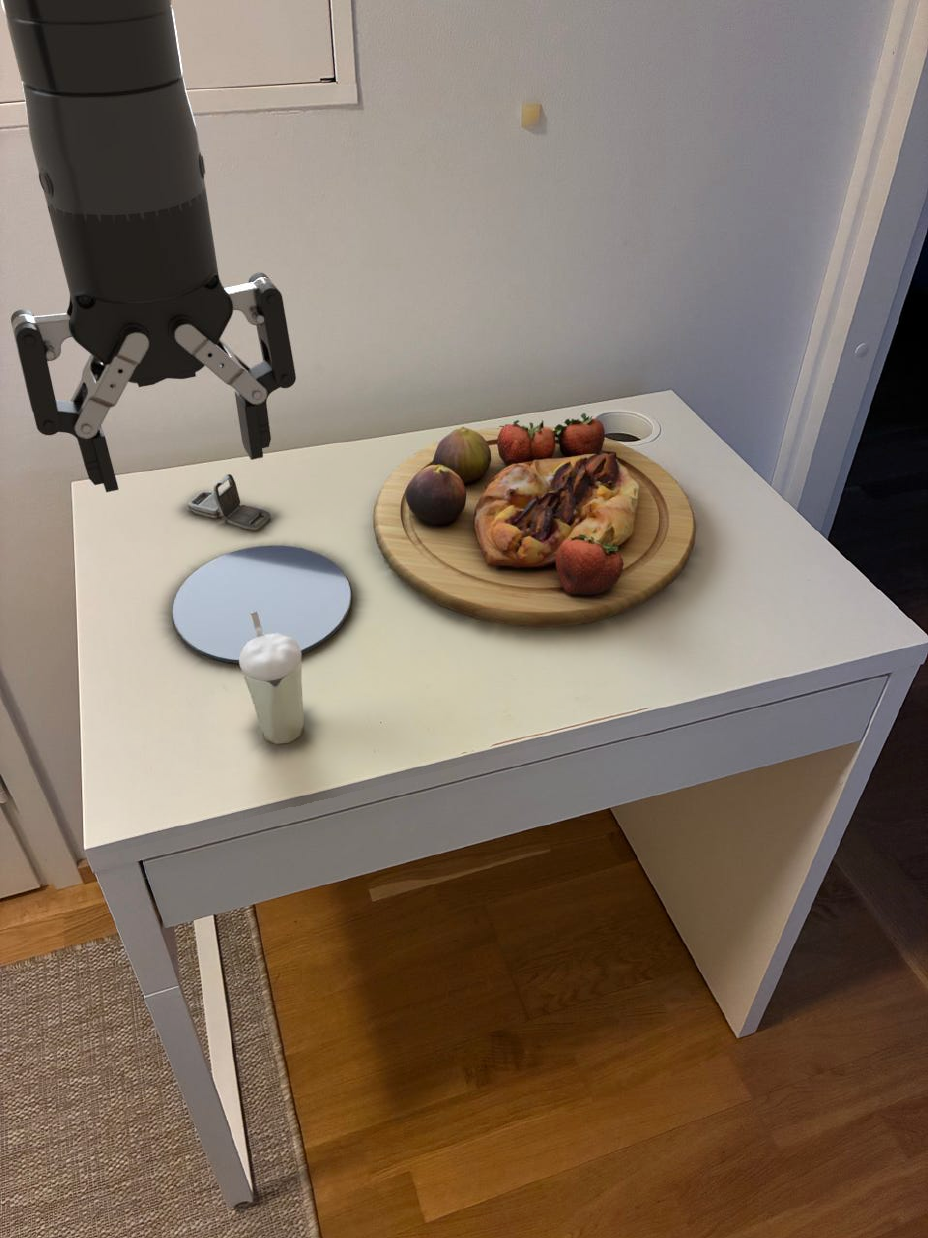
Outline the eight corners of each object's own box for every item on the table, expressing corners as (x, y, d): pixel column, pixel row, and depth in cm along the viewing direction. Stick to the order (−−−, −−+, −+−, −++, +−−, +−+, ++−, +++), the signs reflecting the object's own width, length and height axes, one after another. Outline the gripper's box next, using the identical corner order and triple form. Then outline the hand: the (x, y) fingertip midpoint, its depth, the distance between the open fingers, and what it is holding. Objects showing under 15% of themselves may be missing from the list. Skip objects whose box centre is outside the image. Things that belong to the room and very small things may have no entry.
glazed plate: (198, 688, 80) (197, 683, 79) (155, 577, 90) (154, 572, 90) (377, 632, 85) (377, 627, 84) (317, 533, 95) (317, 528, 95)
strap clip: (186, 511, 98) (178, 476, 95) (204, 495, 100) (196, 461, 97) (256, 532, 95) (249, 497, 93) (273, 516, 98) (267, 481, 95)
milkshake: (297, 694, 79) (283, 603, 72) (319, 739, 75) (306, 647, 69) (244, 712, 78) (224, 620, 71) (264, 758, 74) (245, 666, 67)
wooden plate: (731, 627, 86) (750, 554, 80) (373, 641, 84) (367, 567, 78) (655, 437, 109) (665, 371, 104) (374, 445, 108) (370, 378, 102)
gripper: (246, 145, 51) (279, 416, 62) (-40, 176, 47) (49, 463, 57) (290, 187, 46) (317, 473, 57) (-27, 226, 42) (68, 531, 52)
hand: (183, 468), depth 57 cm, fingers open, 8 cm apart
